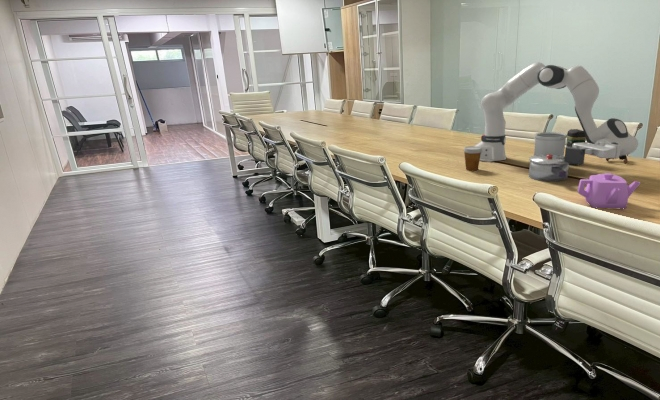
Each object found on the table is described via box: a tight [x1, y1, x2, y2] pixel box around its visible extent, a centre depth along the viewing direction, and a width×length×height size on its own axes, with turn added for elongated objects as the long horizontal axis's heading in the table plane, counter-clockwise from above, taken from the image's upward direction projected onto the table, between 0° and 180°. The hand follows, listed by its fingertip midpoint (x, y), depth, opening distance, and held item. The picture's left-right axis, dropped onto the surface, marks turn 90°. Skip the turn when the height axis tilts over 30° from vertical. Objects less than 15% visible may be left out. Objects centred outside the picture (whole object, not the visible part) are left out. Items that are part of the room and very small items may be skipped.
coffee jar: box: [565, 128, 587, 166], centre depth 229 cm, size 10×8×19 cm
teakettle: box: [576, 172, 641, 210], centre depth 168 cm, size 17×17×12 cm
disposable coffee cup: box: [462, 145, 482, 172], centre depth 232 cm, size 10×10×12 cm
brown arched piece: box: [605, 155, 629, 165], centre depth 229 cm, size 12×10×8 cm
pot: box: [528, 160, 570, 182], centre depth 206 cm, size 31×17×8 cm, turn 171°
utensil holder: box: [533, 131, 567, 156], centre depth 226 cm, size 15×15×18 cm
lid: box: [529, 147, 586, 166], centre depth 204 cm, size 25×18×8 cm
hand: (578, 151), depth 196 cm, fingers closed
